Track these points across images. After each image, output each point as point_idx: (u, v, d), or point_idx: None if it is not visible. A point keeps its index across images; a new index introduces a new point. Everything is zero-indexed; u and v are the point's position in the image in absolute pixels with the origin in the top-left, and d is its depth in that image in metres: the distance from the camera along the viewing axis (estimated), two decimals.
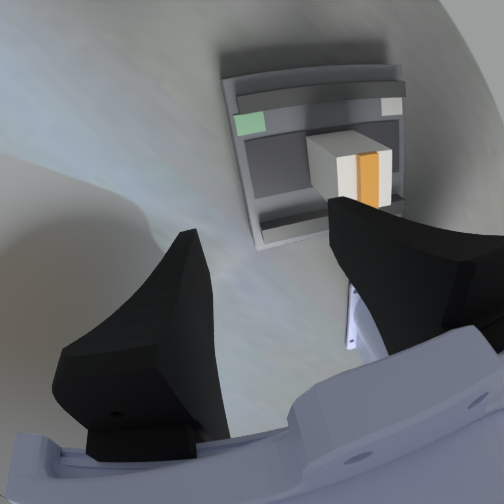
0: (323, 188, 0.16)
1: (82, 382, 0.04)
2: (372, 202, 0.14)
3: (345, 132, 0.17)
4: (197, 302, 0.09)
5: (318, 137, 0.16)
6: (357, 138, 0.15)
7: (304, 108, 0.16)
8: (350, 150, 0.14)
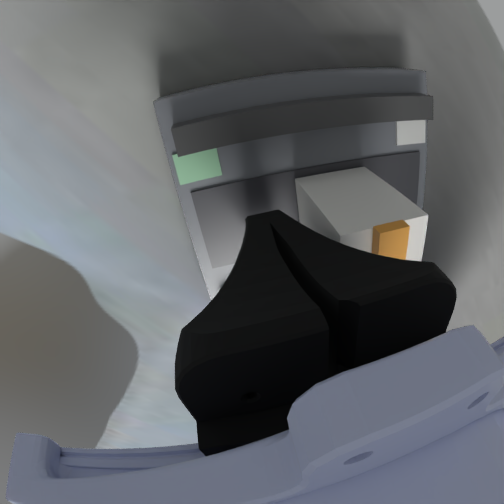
0: None
1: (230, 360, 0.04)
2: None
3: (353, 171, 0.12)
4: None
5: (313, 181, 0.11)
6: (373, 186, 0.10)
7: (281, 138, 0.11)
8: (363, 217, 0.09)
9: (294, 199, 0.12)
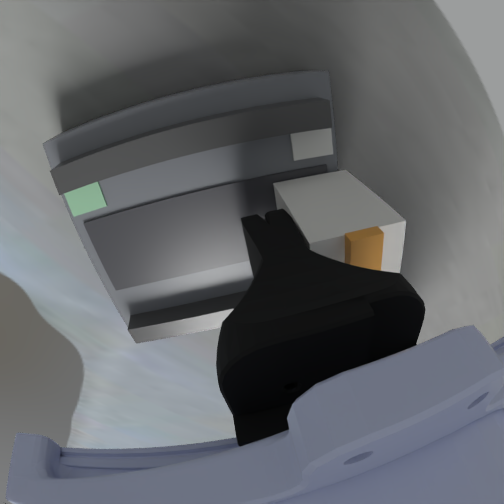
0: None
1: (279, 349, 0.04)
2: None
3: (334, 175, 0.11)
4: None
5: (291, 186, 0.11)
6: (351, 191, 0.10)
7: (156, 166, 0.11)
8: (336, 223, 0.09)
9: (179, 225, 0.12)
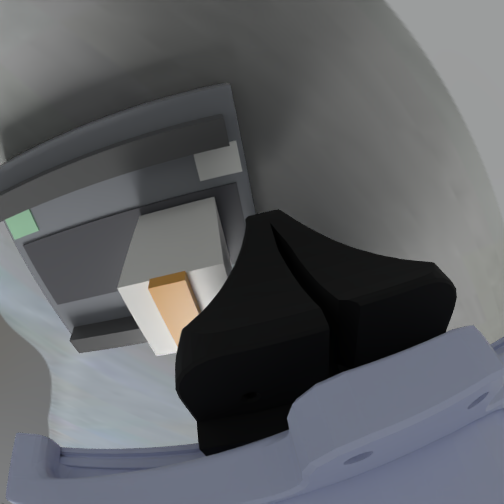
0: None
1: (230, 360, 0.04)
2: None
3: (197, 204, 0.11)
4: None
5: (150, 220, 0.11)
6: (197, 225, 0.10)
7: (74, 194, 0.11)
8: (153, 266, 0.08)
9: (100, 247, 0.12)
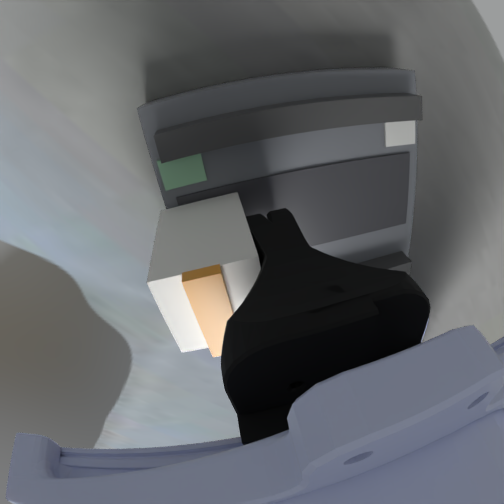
0: None
1: (285, 348, 0.04)
2: None
3: (220, 199, 0.11)
4: None
5: (173, 214, 0.11)
6: (224, 219, 0.10)
7: (265, 142, 0.11)
8: (183, 260, 0.08)
9: (280, 203, 0.12)
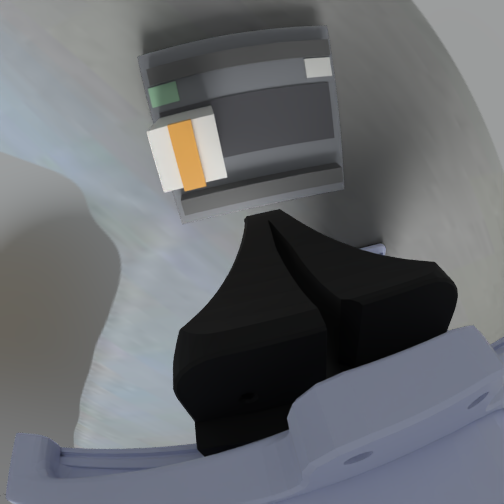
0: None
1: (228, 361, 0.04)
2: (195, 175, 0.13)
3: (199, 108, 0.16)
4: None
5: (167, 117, 0.15)
6: (198, 111, 0.14)
7: (218, 75, 0.15)
8: (170, 123, 0.13)
9: (230, 116, 0.17)
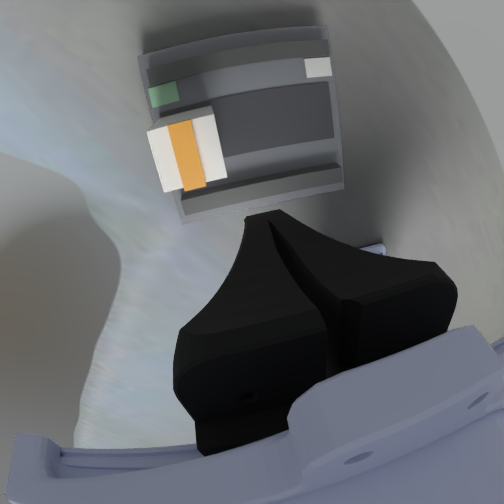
0: None
1: (228, 361, 0.04)
2: (195, 175, 0.13)
3: (199, 108, 0.16)
4: None
5: (167, 117, 0.15)
6: (198, 111, 0.14)
7: (218, 75, 0.15)
8: (170, 123, 0.13)
9: (230, 116, 0.17)
